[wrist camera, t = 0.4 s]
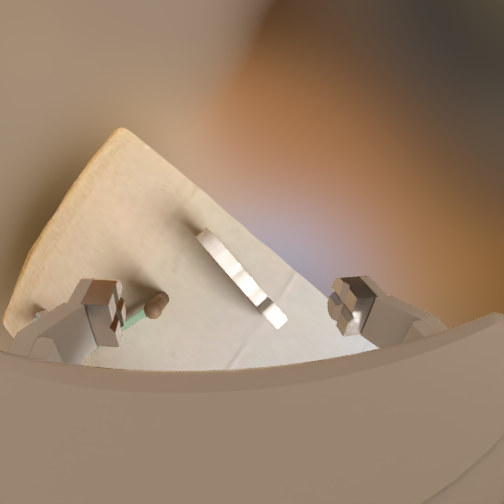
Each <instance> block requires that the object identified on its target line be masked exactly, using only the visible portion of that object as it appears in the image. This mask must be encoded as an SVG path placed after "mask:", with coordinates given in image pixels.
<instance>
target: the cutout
mask: <svg viewBox="0 0 504 504" xmlns="http://www.w3.org/2000/svg"><path fill="white" fill-rule="evenodd" d="M196 239H197V240H198V241H199V242H200V244H201V245H202V246H203V247H204V248H205V250H206V251H207V252H208V253H209V254H210V255H211V257H212V258H213V259H214V260H215V261H216V262H217V263H218V265H219V266H220V267H221V268H222V269H223V270H224V271H225V272H226V274H227V275H228V276H229V277H230V278H231V279H232V280H233V282H234V283H235V284H236V285H237V286H238V287H239V288H240V289H241V291H242V292H243V293H244V294H245V295H246V296H247V297H248V298H249V299H250V301H251V302H252V303H253V304H254V305H255V306H256V307H257V308H258V310H259V311H260V312H261V313H262V314H263V315H264V316H265V317H266V318H267V319H268V320H269V321H270V322H271V324H272V325H273V326H274V327H275V328H276V329H277V330H278V329H279V328H280V327H281V326H282V325H283V324H284V323H285V322H286V321H287V319H286V318H287V317H286V316H285V315H284V314H283V313H282V311H281V310H280V309H279V308H278V307H277V306H276V305H275V304H274V302H273V301H272V300H271V299H269V298H268V297H267V295H266V294H265V293H264V292H263V291H262V290H261V289H260V287H259V286H258V285H257V284H256V283H255V281H254V280H253V279H252V278H251V277H250V275H249V274H248V273H247V272H246V271H245V270H244V269H243V268H242V266H241V265H240V264H239V263H238V262H237V260H236V259H235V258H234V257H233V256H232V255H231V253H230V252H229V251H228V250H227V249H226V248H225V246H224V245H223V244H222V243H221V242H220V241H219V240H218V239H217V238H216V236H215V235H214V234H213V233H212V232H211V231H210V230H209V229H208V228H206V229H204V230H203V231H202V232H201V233H200V234H199V235H197V236H196Z"/></svg>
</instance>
